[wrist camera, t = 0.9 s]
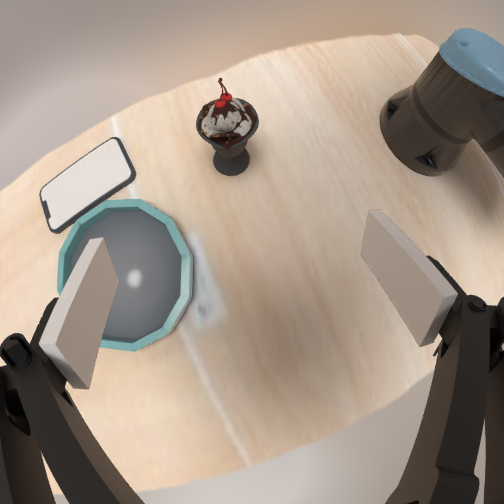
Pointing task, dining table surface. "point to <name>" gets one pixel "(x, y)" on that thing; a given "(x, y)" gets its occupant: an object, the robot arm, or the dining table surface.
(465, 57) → the robot arm
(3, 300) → the dining table surface
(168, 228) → the round tray
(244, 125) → the sundae
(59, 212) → the smartphone
